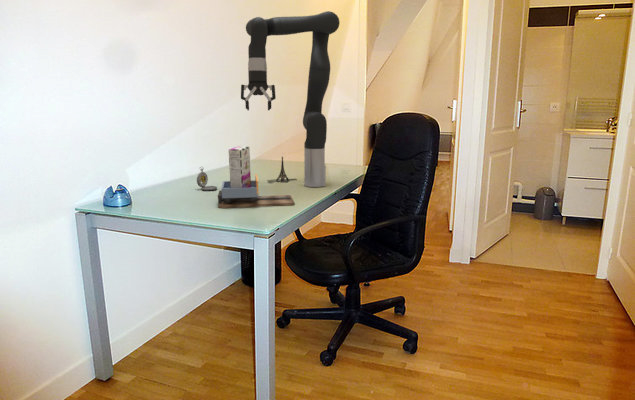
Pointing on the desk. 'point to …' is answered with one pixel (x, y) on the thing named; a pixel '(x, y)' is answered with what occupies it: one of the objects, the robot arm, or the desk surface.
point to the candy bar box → (240, 167)
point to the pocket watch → (204, 181)
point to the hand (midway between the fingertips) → (258, 110)
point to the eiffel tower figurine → (281, 176)
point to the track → (260, 201)
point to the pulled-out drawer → (240, 191)
